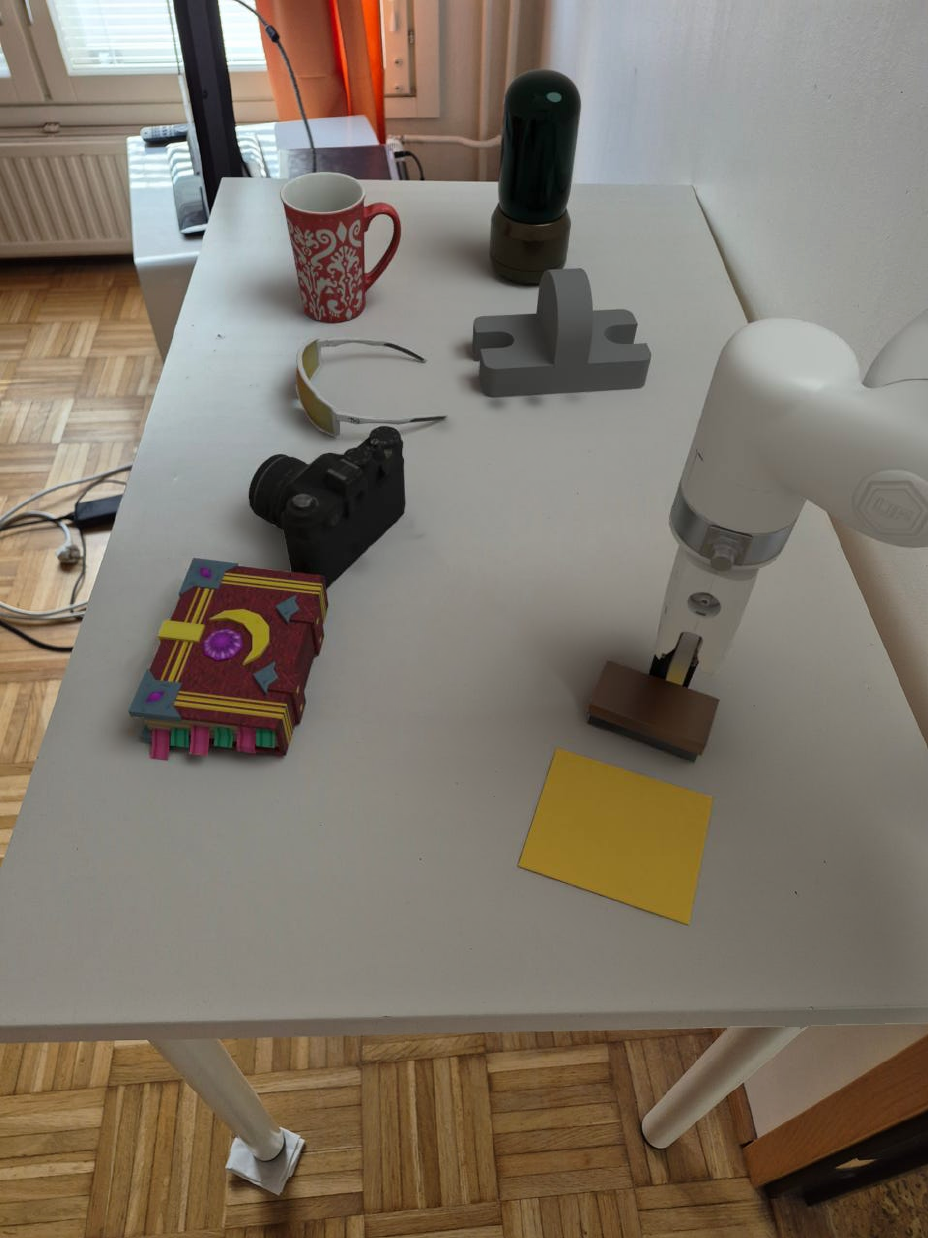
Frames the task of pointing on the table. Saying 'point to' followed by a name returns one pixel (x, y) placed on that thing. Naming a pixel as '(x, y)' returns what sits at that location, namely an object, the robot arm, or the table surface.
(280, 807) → the table surface
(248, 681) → the decorative book
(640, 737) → the brush
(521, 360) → the bracket
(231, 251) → the table surface
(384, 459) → the camera
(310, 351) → the sunglasses
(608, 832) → the cloth
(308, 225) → the mug
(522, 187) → the lamp
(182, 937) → the table surface
